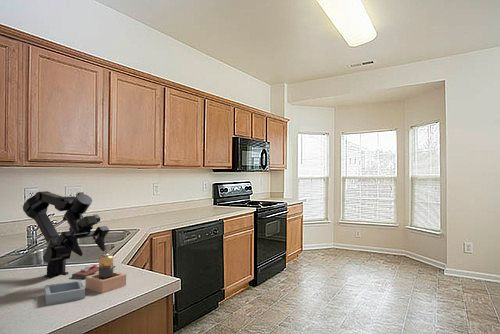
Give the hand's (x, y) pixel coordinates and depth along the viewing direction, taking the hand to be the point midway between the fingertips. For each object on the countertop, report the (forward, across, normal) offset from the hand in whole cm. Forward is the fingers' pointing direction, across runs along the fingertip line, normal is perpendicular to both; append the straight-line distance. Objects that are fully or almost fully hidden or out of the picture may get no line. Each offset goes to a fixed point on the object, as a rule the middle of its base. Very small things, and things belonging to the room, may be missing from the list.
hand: (93, 253), depth 127 cm
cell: (+13, 0, +2) cm, 14 cm away
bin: (+14, 0, +3) cm, 15 cm away
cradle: (+12, -14, +5) cm, 19 cm away
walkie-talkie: (0, +9, +18) cm, 20 cm away
